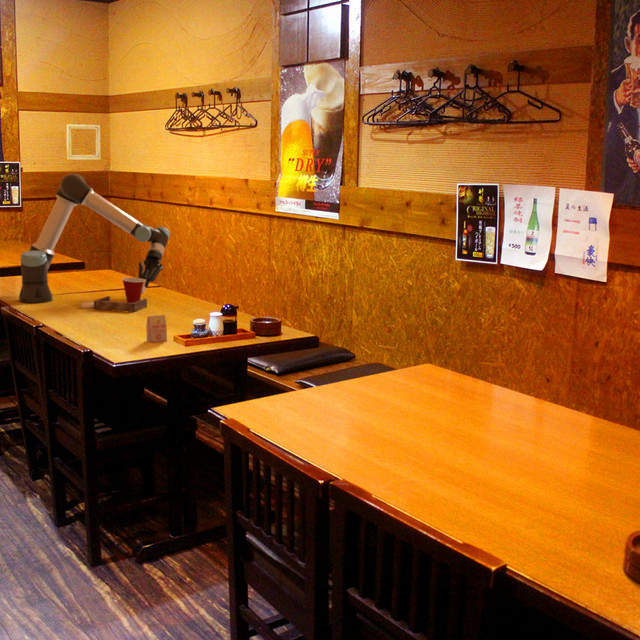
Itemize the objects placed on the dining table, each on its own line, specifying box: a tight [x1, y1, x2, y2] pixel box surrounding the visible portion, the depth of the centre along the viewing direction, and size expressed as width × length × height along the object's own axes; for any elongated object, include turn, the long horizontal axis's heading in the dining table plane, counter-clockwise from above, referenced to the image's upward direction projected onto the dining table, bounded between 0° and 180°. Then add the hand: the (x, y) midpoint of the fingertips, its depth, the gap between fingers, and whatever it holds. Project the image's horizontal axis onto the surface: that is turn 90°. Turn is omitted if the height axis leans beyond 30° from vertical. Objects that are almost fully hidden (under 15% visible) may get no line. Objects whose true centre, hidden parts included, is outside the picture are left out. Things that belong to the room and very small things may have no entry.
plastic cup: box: [121, 277, 145, 303], centre depth 364 cm, size 11×11×12 cm
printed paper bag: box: [145, 314, 168, 344], centre depth 291 cm, size 4×7×10 cm, turn 120°
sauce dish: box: [80, 301, 94, 309], centre depth 354 cm, size 8×8×2 cm
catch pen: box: [93, 295, 148, 313], centre depth 352 cm, size 20×13×4 cm, turn 77°
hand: (141, 291), depth 372 cm, fingers closed
